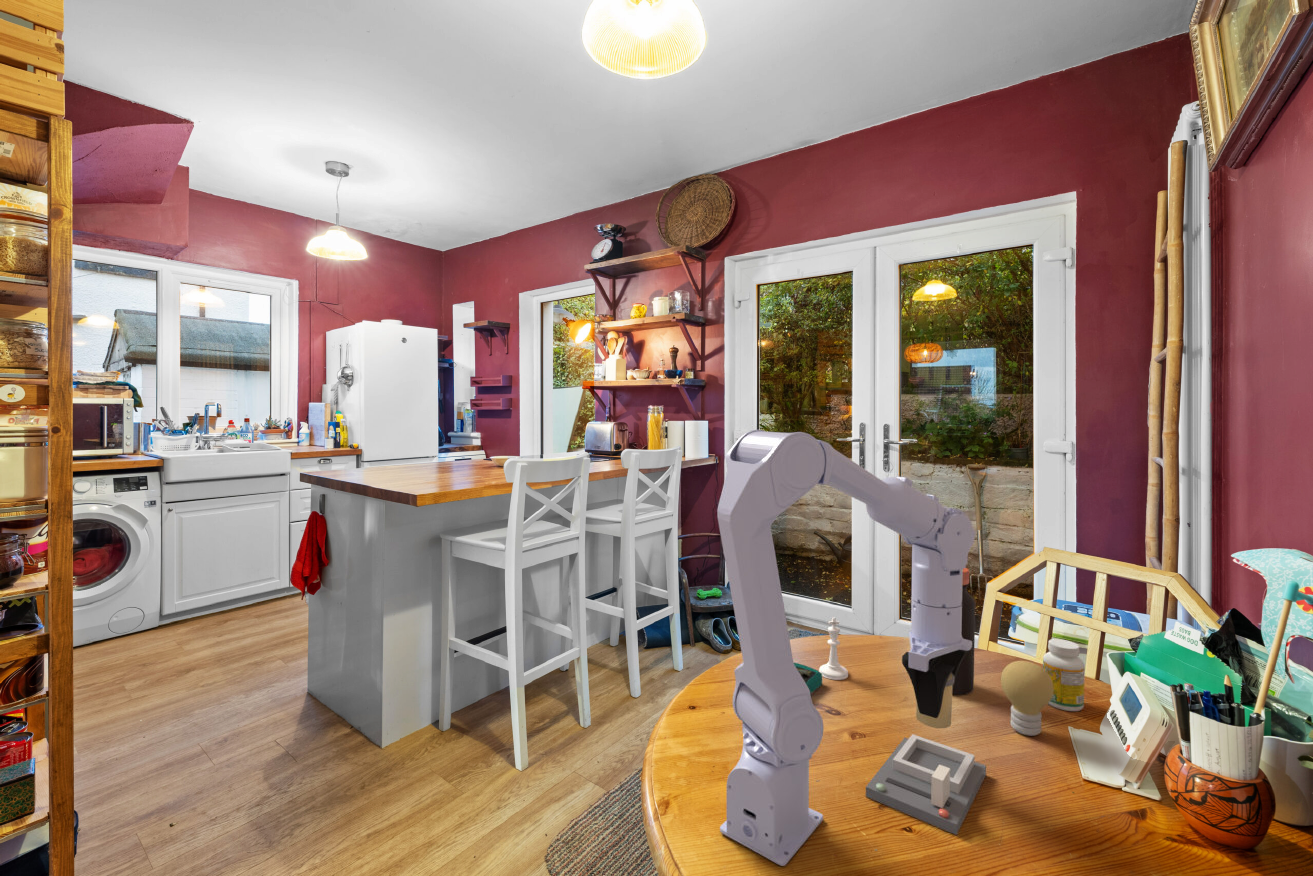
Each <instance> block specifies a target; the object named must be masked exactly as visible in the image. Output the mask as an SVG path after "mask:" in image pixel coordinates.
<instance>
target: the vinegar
mask: <svg viewBox="0 0 1313 876" xmlns="http://www.w3.org/2000/svg"><path fill="white" fill-rule="evenodd" d="M969 585H970V569H969V568H967V567H965V568H964V569H963V578H962V629H961V635H962V638H963V639H966V640H970V641H972V648H971V649H970V650H969V651H968V652H967V653H966V655H965V656H964V658H963V660H962V662H961V664H960V666H959V669H958V672H957V675H956V679H955V683H954V687H953V691H952V695H953V696H954V695H957V696H963V695H964V696H965V695H969V694H970V693H972V692H973V691H974V686H975V683H974V682H975V680H974V679H975V642H976V641H975V639H976V637H975V636H976V635H975V633H976V632H975V631H976V627H975V626H976V601H975V598H974V597H973V596H972V595H971V594H970V593H969V592H968V590H967V589H968V587H969Z"/></svg>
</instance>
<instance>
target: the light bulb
mask: <svg viewBox="0 0 1313 876" xmlns="http://www.w3.org/2000/svg"><path fill="white" fill-rule="evenodd" d="M1000 685H1001V687H1002V690H1003V693H1004V694H1005V695H1006V698H1007V700H1009V702H1010V703H1011V706H1010V726H1011V727H1012V728H1013V729H1014V730H1015V731H1016V732H1017V733H1019V734H1022V735H1023V736H1024V735H1025V736H1031V737H1033V736H1037V735H1039V734H1040V733H1041V732H1042V712H1041V710H1042V709H1044V707H1046V706H1047V705H1049V704H1048V703H1049V701H1050V700H1051V698H1052V696H1053V683H1052V680H1051V678H1050V676H1049V674H1048V673H1047V672H1046V671H1045V670H1044V669H1043V666H1042V667H1041V666H1040V665H1039V664H1036V663H1034V662H1031V661H1027V660H1015V661H1012V662H1010V663H1008V664H1007V665H1006V666H1005V667H1004V668H1003V670H1002V672H1001V675H1000Z"/></svg>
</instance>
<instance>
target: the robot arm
mask: <svg viewBox="0 0 1313 876" xmlns="http://www.w3.org/2000/svg"><path fill="white" fill-rule="evenodd" d="M724 458H725V463H726V468H727V470H726V475H725V478H724V482H723V486H722V491H721V495H720V497H719V500H718V504H717V505H718V506H717V521H718V522H717V523H718V528H719V533H720V539H721V546H722V549H723V555H724V561H725V566H726V567H725V568H726V571H727V572H726V573H727V577H728V583H729V584H728V585H729V589H730V594H731V595H730V596H731V600H732V606H733V611H734V616H735V623H736V628H737V634H738V639H739V645H740V646H739V647H740V652H741V657H742V661H743V662H741V663H740V664H738V666H737V667H736V668H735V669H734V678H735V685H734V687H735V688H734V690H733V694H732V695H733V696H732V708H733V711H734V714H735V716H736V717H737V718H738V719H739V720H740V721H741V722H742V723H741V725H742V735H743V738H742V742H743V743H742V751H741V755H740V758H739V760H738V762H737V763H736V765H735V766H734V768H733V769H732V770H731V771H730V773H728V776H727V781H726V820H725V821H724V822H723V823H722V824H721V825H720V826H719V831H720V833H721V834H722V835H724V836H726V837H728V838H730V839H732V840H734V841H735V842H737V843H739V844H741V845H742V846H744V847H746V848H749V850H752V851H754V852H755V853H757V854H759V855H761V856H763V857H764V858H766V859H768V860H770V861H771V862H773V863H775V864H777V865H779V866H782V867H783V866H786V865H787V864H788V863H789V862H790V860H791V859H792V858H793V857H794V855H795V854H796V853H797V852H798V850H799V849H800V848H801V847H802V846H803V845H804V843H805V842H806V841H807V840H808V839H809V837H810V836H811V835H813V832H814V831H815V830H816V828H817V827H819V825H820V824H821V823H822V822H823V820H824V815H823V814H822V813H821V812H818V811H817V810H814V809H812V808H810V807H809V801H810V792H809V791H810V787H809V786H810V760H811V759H812V757H813V755H814V754H815V753H816V751H817V750H818V748H819V746H820V745H821V742H822V739H823V737H824V721H823V720H824V719H823V717H822V716H821V714H820V712H819V711H818V709H817V708H816V707H815V705H814V703H813V701H812V697H811V695H812V694H810V690H809V688H808V687H807V685H806V683H805V681H804V680H803V678H802V677H801V675H800V673H799V672H798V670H797V668H796V667H795V665H794V663H795V662H794V658H793V652H792V647H791V640H790V634H789V628H788V623H787V617H786V612H785V611H786V609H785V606H784V605H785V604H784V599H783V593H782V588H781V587H782V586H781V581H780V574H779V569H778V564H777V563H778V562H777V557H776V556H777V555H776V550H775V543H774V540H773V533H772V524H773V523H774V522H775V520H777V518H778V517H779V516H780V515H781V514H782V513H783V512H785V511H786V510H787V509H789V507H791V506H792V505H793V504H795V503H796V502H797V501H799V500H800V499H801V498H802V497H804V496H805V495H806V494H807V493H809V492H810V491H811V490H812V489H814V488H815V487H816V486H817V485H821V486H826V485H827V486H829V487H831V488H833V489H835V490H838V492H841V493H844V494H846V495H847V496H849V497H851V498H853V499H855V500H857V501H860V502H861V503H863V504H865V508H866V512H867V513H866V514H867V515H868V516H869V517H870V519H871V520H873V521H875V522H877V523H878V524H880V525H882V526H884V527H885V528H888V529H890V530H891V531H893V532H895V533H897V534H899V535H900V536H901V537H902V538H903V541H905V543H906V544H907V545H912V546H911V547H912V548H911V550H912V551H911V598H910V599H911V601H910V603H911V604H910V605H911V608H910V609H911V611H910V613H911V614H910V616H911V617H910V619H911V622H910V623H911V624H910V630H909V633H908V635H909V637H908V638H909V646H910V649H909V651H906V652H904V654H903V655H902V656H901V661H902V662H901V663H902V666H903V668H904V669H905V671H906V673H907V674H908V676H909V680H910V681H911V684H912V688H913V692H914V696H915V700H916V706H917V705H918V709H919V712H920V713H921V714H924V715H927V716H930V717H933V718H937V717H938V716H939V713H940V710H941V706H942V700H943V694H944V689H945V685H946V683H947V680H948V678H949V676H950V674H951V673H953V675H954V677H955V679H956V675H957V672H958V669H959V666H960V664H961V662H962V660H963V658H964V656H965V655H966V653H967V652H968V651H969V650H970V649H971V648H972V641H970V640H966V639H963V638H962V635H961V629H962V578H963V569H964V568H967V567H966V565H968V556H969V552H970V550H971V548H972V546H973V545H974V542H975V539H976V531H977V530H975V529H974V527H973V524H972V521H971V519H970V518H969V517H968V516H967V515H966V513H965V512H964V511H963V510H962V509H959V508H953V507H948V506H943V504H941V502H939V497H938V496H936V495H934V494H928V493H927V494H925V493H924V492H921V491H920V490H918V489H917V488H914V486H913V484H914V481H913V480H912V479H910V478H908V477H905V476H897V477H893V476H891V477H885V478H882V479H880V478H879V477H877V476H876V475H874V474H872V473H871V472H870V471H869V470H867V469H865V468H864V467H863V466H861V465H859V464H857V463H856V462H855V461H853V460H852V459H850V458H849V457H847V456H846V455H844V454H842V453H841V452H839V450H836V449H835V448H834V447H833V446H832V445H831V444H830V443H829V442H827V441H824V440H821V439H817V438H815V437H814V436H813V435H811V434H810V433H807V432H802V431H797V432H796V431H795V432H781V431H779V432H778V431H776V432H775V431H766V430H762V429H752V430H749V431H746V432H745V433H742V435H741V436H740V437H739V438H738V439H737V440H736V442H735V443H734V444H733V446H731V448H730V449H729V450H728V452H727V453H726V454H725V457H724ZM955 679H954V683H955ZM953 687H954V684H953V685H952V691H953Z"/></svg>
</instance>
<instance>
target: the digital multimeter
mask: <svg viewBox="0 0 1313 876" xmlns="http://www.w3.org/2000/svg"><path fill="white" fill-rule="evenodd" d="M793 663H794V665H795V667H796V668H797V670H798V672H799V673H800V675H801V677H802V678H803V680H804V681H805V683H806V685H807V687H808V688H809V690H810V695H812V693H814V692H815V691H816V690H817V689H818V688H820V687H821V686H822V685H823V676H822V673H820V672H819V670H817V669H815V668H813V667H811V666H807V665H805V664H801V663H797V662H793Z"/></svg>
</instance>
